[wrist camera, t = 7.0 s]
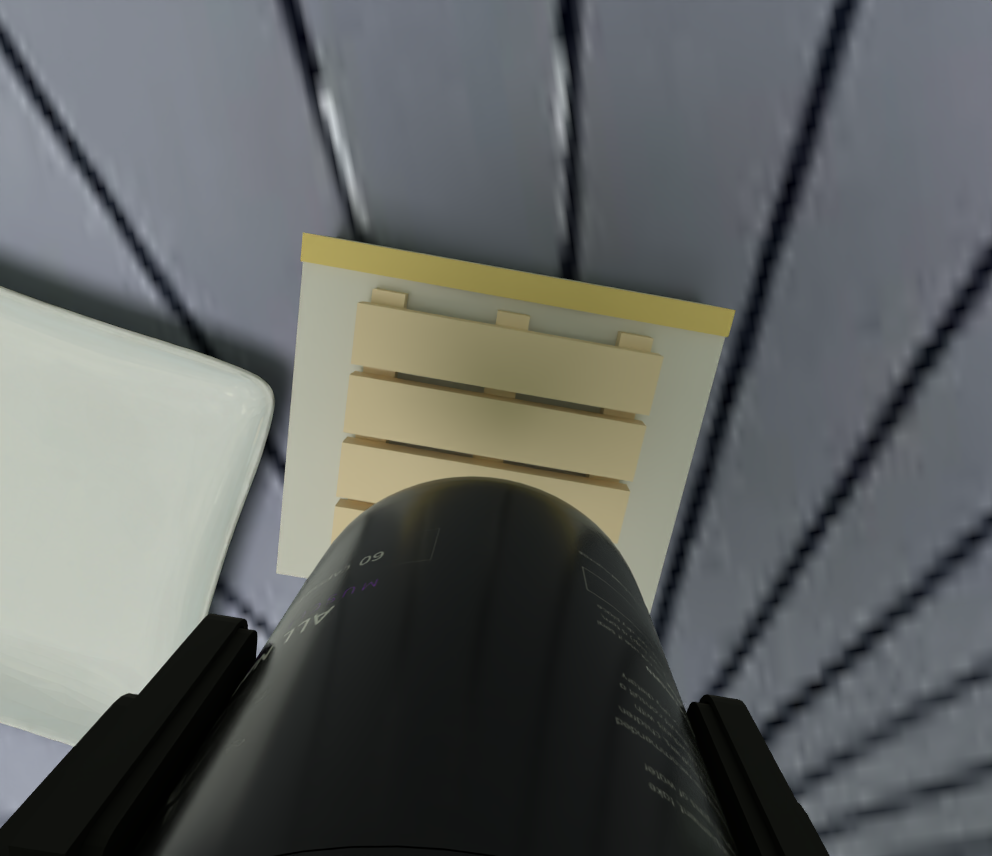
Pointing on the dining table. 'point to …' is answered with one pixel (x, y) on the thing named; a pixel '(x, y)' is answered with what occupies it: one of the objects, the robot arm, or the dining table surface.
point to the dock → (490, 393)
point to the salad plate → (110, 506)
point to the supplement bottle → (454, 700)
